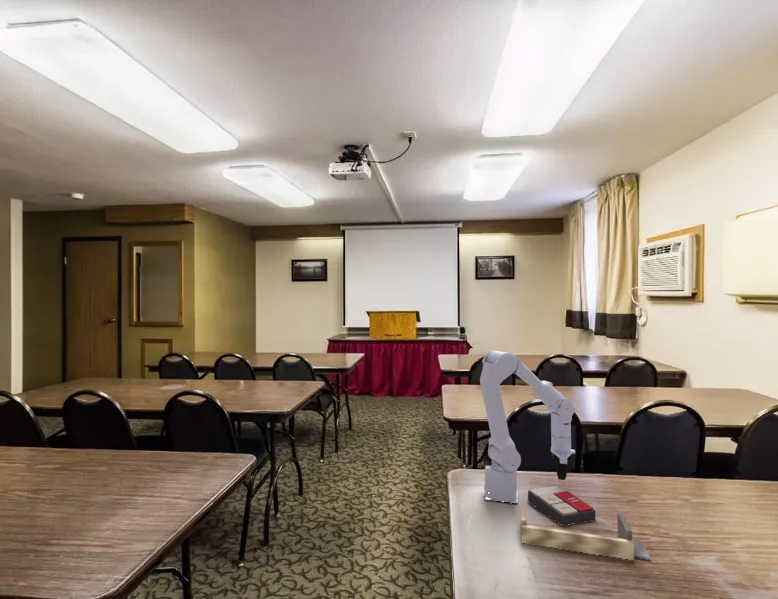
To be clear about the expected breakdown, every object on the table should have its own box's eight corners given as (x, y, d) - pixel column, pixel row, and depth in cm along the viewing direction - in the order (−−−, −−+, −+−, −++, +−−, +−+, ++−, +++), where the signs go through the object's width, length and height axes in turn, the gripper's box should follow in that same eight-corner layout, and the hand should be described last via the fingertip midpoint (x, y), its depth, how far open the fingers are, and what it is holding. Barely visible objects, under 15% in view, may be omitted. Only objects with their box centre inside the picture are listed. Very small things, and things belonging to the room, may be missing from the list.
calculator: (563, 514, 110) (527, 487, 124) (562, 530, 110) (527, 502, 125) (596, 507, 114) (557, 483, 128) (596, 523, 114) (557, 497, 128)
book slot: (521, 543, 102) (521, 518, 102) (521, 522, 112) (521, 500, 112) (652, 563, 94) (651, 536, 94) (639, 539, 104) (639, 515, 104)
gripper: (577, 443, 124) (578, 490, 124) (571, 429, 138) (572, 471, 138) (552, 441, 126) (553, 487, 126) (549, 428, 140) (549, 469, 140)
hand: (561, 479), depth 132 cm, fingers closed
